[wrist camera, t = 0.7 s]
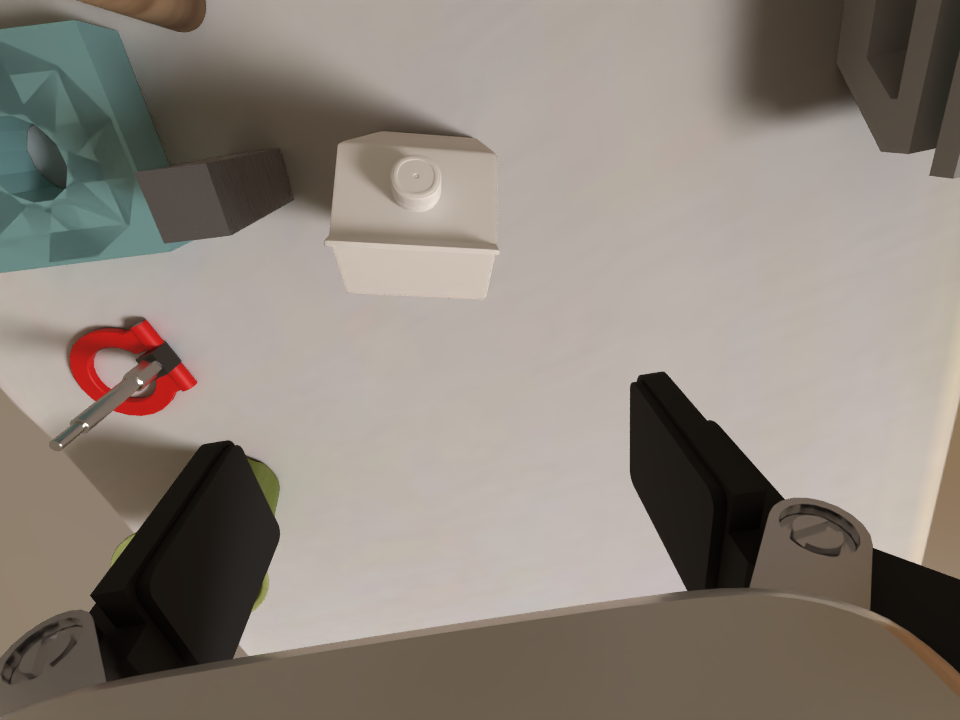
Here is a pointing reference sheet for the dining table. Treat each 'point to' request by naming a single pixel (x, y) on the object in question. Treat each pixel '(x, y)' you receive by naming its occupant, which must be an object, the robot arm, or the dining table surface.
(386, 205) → the milk carton
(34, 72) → the bore block
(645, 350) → the dining table surface
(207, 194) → the steel square bar
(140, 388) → the tow hook
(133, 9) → the walnut dowel
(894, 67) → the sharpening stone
